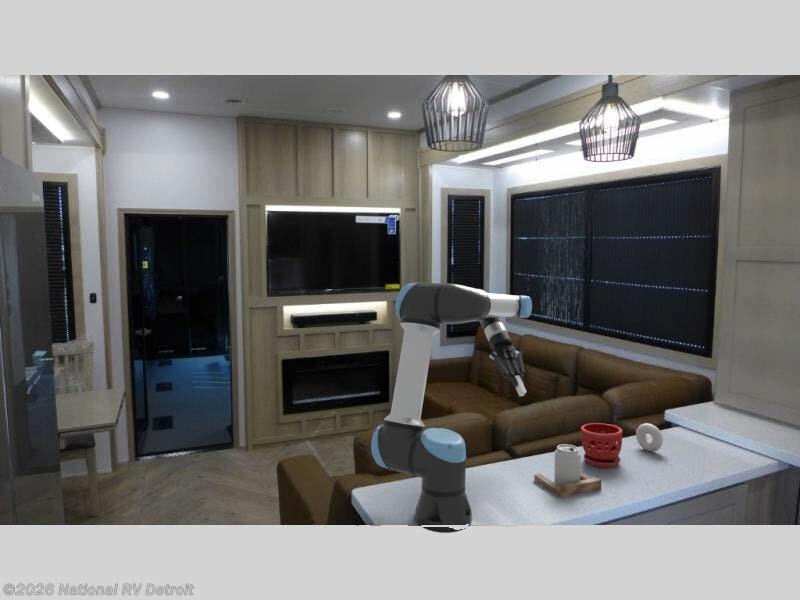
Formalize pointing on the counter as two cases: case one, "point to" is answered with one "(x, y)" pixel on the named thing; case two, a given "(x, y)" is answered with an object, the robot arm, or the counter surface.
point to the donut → (654, 433)
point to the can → (567, 464)
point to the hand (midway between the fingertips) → (523, 394)
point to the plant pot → (601, 444)
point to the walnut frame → (570, 485)
